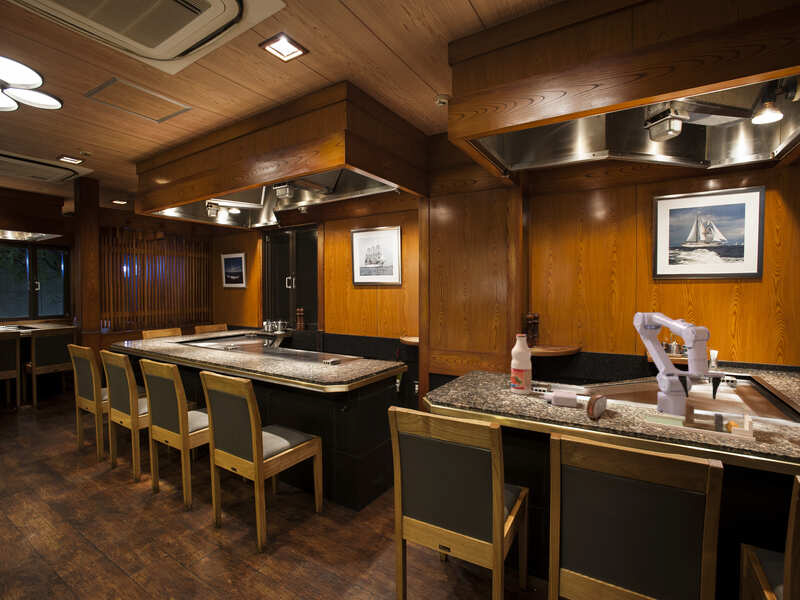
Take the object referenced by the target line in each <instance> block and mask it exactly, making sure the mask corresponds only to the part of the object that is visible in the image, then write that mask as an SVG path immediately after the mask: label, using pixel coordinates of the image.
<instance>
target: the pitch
mask: <svg viewBox="0 0 800 600" xmlns="http://www.w3.org/2000/svg"><path fill="white" fill-rule="evenodd" d="M742 414H743V415H742V416H743V417H742V419H743V420H737V419H728V420H727V423H728V422H735V423H737V424H738V425H739V427H740V428H735V427H732V433H731V432H729V431H728V430H727V429H726V424H727V423H723V432H722V431H715V430H709V429H702V428H695V427H689V426H682V420H683V421H685V417H681V416H679V417H678V416H675V415H665V414H659V413H658V414H657V413H652V412H646V413H645V420H644V426H645V425H646V426H651V427H656V428H657V427H658V428H663V429H671V430H676V431H684V432H688V433H697V434H701V435H709V436H715V437H722V438H728V439H734V440H740V441H747V442H754V443H756V437H753V436H754V421H753V419H752V418H751V416H750V414H748V413H747V412H743V413H742ZM694 422H696V423H703V424H710V425H714V421H709V420H708V421H707V420H700V419H695V418H694Z"/></svg>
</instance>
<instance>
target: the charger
mask: <svg viewBox="0 0 800 600" xmlns="http://www.w3.org/2000/svg"><path fill="white" fill-rule="evenodd" d="M577 394H578V393H577V392H571V391H569V392H568V391H561V390H553V391H552V393H551V394H549V393H545V394H544V395H539V396H538V397H539V398H543V400H544V401H548V402H549V401H550V402H551V405H553V406H556V405H559V407H566V408H567V407H568V408H577V403H578V401H577Z"/></svg>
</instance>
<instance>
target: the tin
mask: <svg viewBox="0 0 800 600" xmlns="http://www.w3.org/2000/svg"><path fill="white" fill-rule="evenodd" d="M607 402H608V396H607V395H606V394H603V393H599V392H598V393H596V394H594V395H591V396H590V397H589V399H588V401H587V405H586V417H588V418H589V419H590V418H591V419H593V420H596V419H599V418H600V417H602V416H603V415H604V413H605V411H606V410H607ZM598 417H599V418H598Z"/></svg>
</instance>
